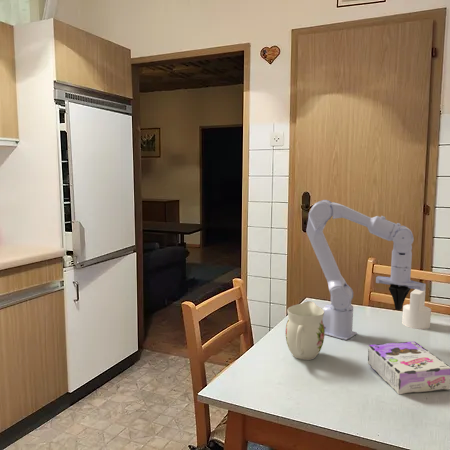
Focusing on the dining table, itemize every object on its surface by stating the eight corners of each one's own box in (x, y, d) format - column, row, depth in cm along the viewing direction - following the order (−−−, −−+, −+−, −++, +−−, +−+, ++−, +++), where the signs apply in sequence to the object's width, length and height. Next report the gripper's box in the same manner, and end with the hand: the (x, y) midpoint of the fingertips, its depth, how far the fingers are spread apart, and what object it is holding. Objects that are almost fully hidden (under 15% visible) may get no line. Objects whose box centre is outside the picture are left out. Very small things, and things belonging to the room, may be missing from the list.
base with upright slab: (405, 318, 165) (407, 286, 163) (432, 324, 160) (434, 290, 158) (399, 325, 158) (401, 291, 156) (426, 331, 152) (429, 296, 151)
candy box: (415, 340, 125) (453, 367, 109) (414, 360, 126) (452, 390, 110) (368, 344, 123) (400, 372, 107) (367, 364, 124) (398, 395, 108)
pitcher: (277, 365, 123) (278, 316, 122) (291, 342, 140) (292, 299, 139) (318, 372, 120) (319, 321, 118) (327, 347, 136) (329, 303, 135)
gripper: (430, 267, 138) (427, 311, 139) (382, 261, 147) (380, 302, 149) (422, 271, 132) (419, 316, 134) (374, 264, 142) (371, 306, 143)
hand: (398, 309), depth 141 cm, fingers closed
